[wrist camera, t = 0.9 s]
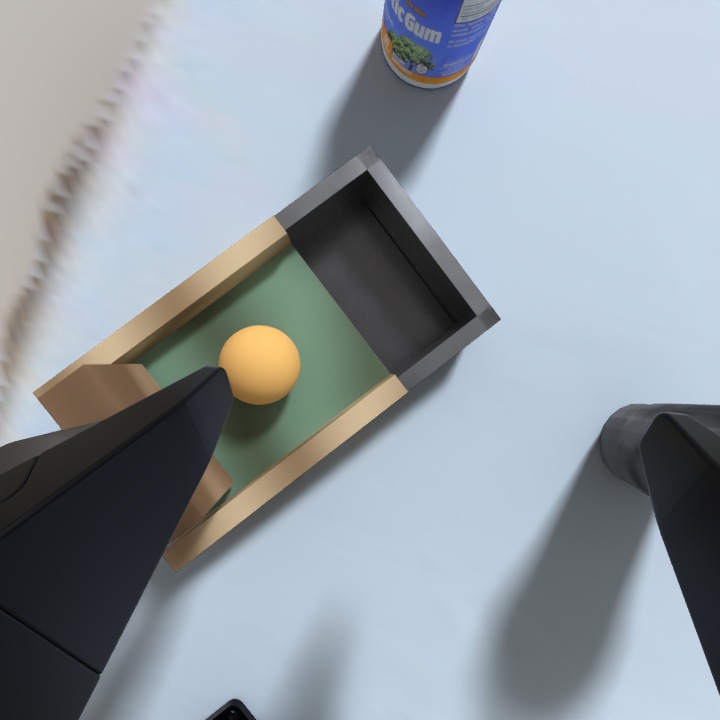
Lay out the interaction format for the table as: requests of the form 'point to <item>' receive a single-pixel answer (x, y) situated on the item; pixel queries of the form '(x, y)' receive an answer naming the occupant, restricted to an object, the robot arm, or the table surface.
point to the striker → (97, 402)
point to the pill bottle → (434, 38)
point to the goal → (387, 268)
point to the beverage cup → (631, 426)
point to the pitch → (245, 421)
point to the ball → (260, 364)
